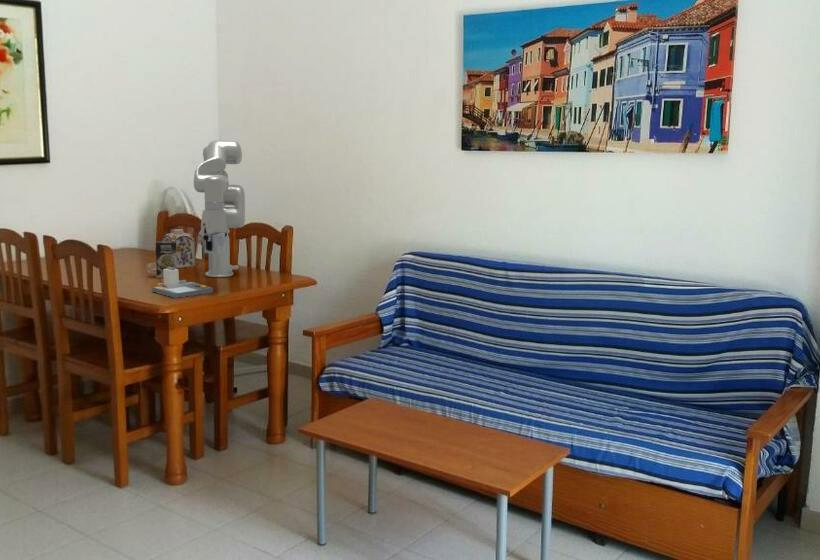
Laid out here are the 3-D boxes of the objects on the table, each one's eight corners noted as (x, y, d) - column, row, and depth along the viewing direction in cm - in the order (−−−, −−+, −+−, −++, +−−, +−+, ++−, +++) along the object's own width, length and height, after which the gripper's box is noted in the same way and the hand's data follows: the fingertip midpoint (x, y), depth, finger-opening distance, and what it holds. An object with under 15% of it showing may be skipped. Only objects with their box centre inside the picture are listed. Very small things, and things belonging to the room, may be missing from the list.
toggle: (172, 284, 339) (171, 266, 337) (178, 286, 335) (178, 267, 334) (163, 285, 336) (163, 267, 334) (170, 287, 333) (169, 268, 331)
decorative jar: (195, 266, 394) (195, 230, 390) (173, 269, 386) (172, 231, 382) (184, 263, 402) (183, 227, 399) (162, 265, 395) (161, 229, 391)
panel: (190, 286, 347) (189, 279, 347) (213, 292, 336) (212, 285, 335) (152, 291, 334) (152, 284, 333) (174, 298, 323) (174, 290, 322)
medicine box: (225, 253, 338) (225, 233, 337) (218, 255, 334) (218, 234, 333) (211, 251, 342) (211, 231, 340) (204, 253, 338) (203, 232, 337)
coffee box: (156, 278, 363) (155, 242, 360) (156, 275, 369) (155, 240, 366) (177, 277, 365) (176, 242, 362) (177, 275, 371) (176, 240, 368)
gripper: (225, 204, 343) (226, 246, 347) (191, 206, 331) (192, 250, 334) (236, 206, 339) (236, 249, 342) (202, 208, 326) (202, 252, 329)
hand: (214, 249), depth 338 cm, fingers closed on medicine box, 5 cm apart
